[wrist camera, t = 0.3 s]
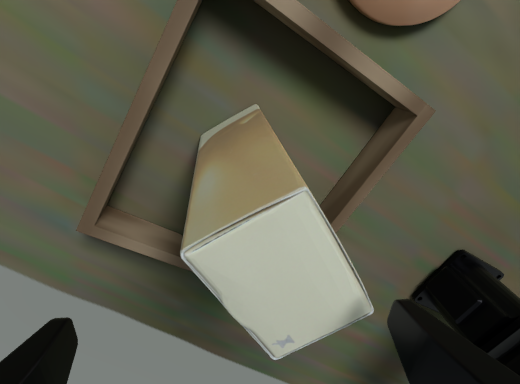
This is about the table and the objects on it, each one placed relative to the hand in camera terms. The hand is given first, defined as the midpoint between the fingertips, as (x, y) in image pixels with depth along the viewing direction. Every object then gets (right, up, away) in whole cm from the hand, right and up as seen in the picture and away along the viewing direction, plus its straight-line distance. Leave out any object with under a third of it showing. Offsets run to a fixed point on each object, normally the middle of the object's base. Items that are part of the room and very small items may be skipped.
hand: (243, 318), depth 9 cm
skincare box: (0, +6, +12) cm, 13 cm away
